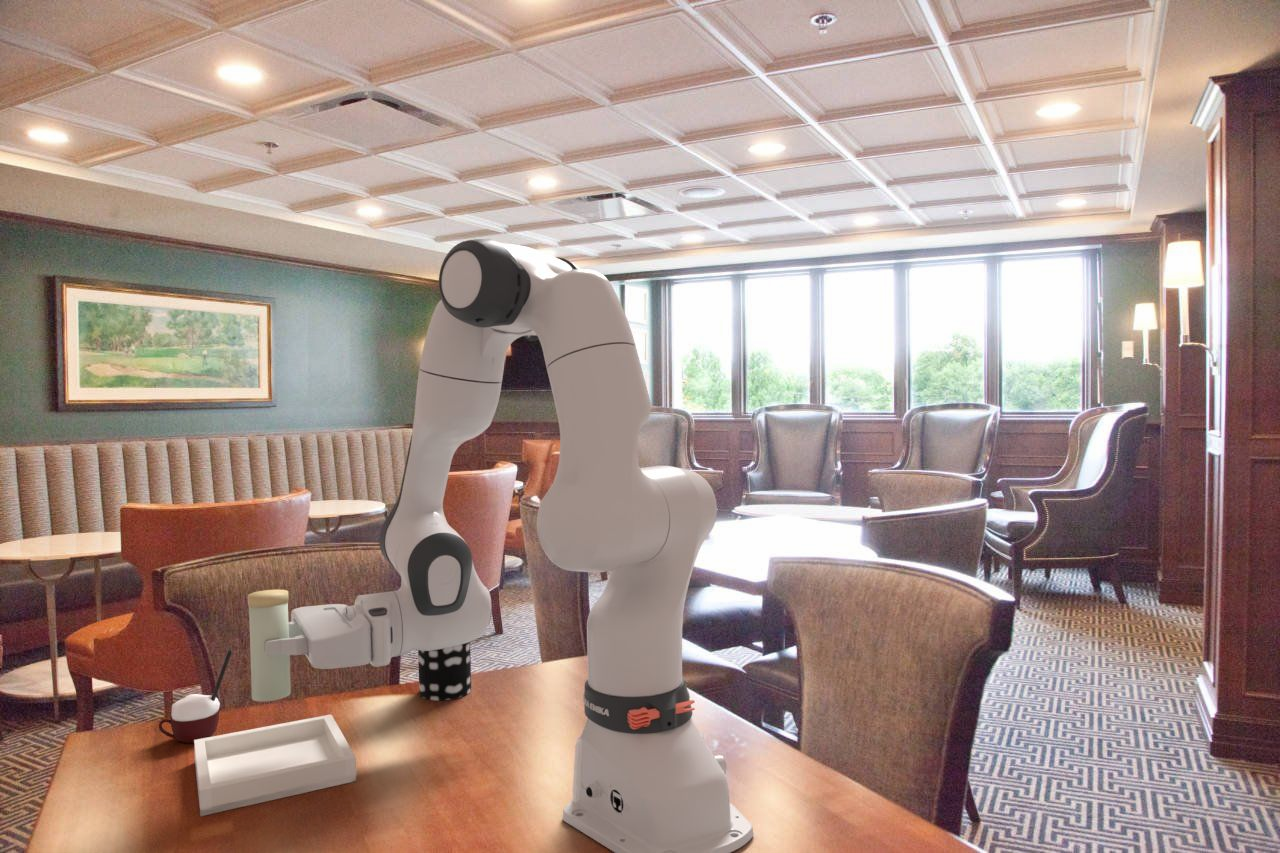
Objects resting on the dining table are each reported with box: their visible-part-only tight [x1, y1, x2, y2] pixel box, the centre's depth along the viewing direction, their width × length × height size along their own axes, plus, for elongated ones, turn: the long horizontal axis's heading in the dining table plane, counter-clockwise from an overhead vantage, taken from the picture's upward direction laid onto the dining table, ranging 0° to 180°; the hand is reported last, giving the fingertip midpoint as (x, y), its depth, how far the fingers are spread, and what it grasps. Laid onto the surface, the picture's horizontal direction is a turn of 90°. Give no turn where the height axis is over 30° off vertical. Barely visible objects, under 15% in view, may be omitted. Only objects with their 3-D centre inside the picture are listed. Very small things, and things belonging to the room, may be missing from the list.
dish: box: [193, 713, 357, 817], centre depth 110 cm, size 17×17×3 cm
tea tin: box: [247, 589, 292, 702], centre depth 110 cm, size 5×5×13 cm
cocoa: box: [158, 648, 233, 744], centre depth 122 cm, size 10×6×12 cm, turn 92°
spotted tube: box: [417, 641, 472, 702], centre depth 139 cm, size 8×8×20 cm
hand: (262, 642), depth 109 cm, fingers closed on tea tin, 5 cm apart
